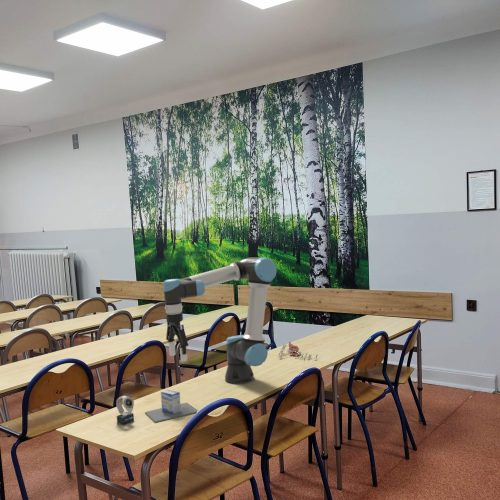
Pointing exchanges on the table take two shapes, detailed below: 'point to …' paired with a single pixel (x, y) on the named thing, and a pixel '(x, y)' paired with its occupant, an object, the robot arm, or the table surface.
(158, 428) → the table surface
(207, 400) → the table surface
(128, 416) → the watch
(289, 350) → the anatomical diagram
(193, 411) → the mat
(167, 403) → the medicine box
